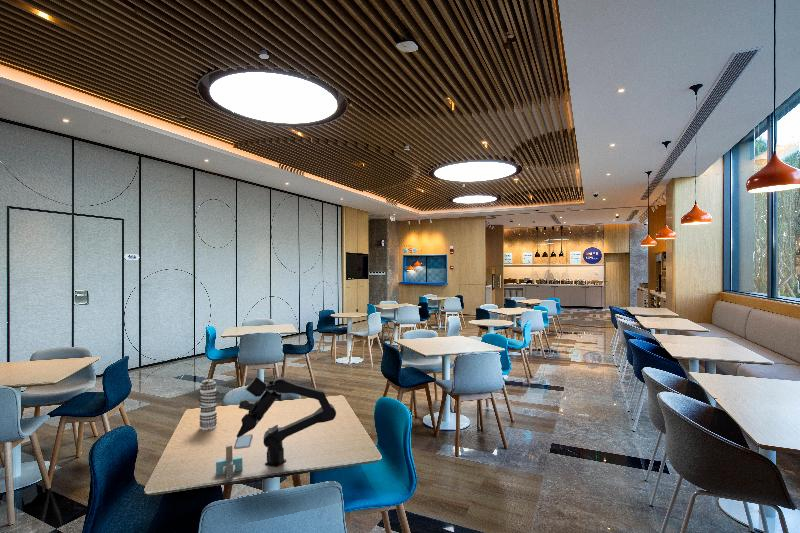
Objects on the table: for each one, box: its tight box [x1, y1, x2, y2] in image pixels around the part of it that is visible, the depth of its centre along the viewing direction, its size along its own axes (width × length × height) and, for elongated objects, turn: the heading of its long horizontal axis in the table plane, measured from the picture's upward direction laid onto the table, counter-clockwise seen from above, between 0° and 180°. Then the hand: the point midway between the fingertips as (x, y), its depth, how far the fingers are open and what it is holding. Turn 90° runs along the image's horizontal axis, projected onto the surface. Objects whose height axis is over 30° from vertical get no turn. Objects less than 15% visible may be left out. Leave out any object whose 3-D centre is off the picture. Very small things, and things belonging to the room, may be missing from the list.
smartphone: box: [233, 433, 254, 449], centre depth 206 cm, size 7×1×15 cm
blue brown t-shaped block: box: [215, 444, 243, 476], centre depth 174 cm, size 10×2×10 cm, turn 113°
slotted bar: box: [225, 461, 234, 478], centre depth 174 cm, size 12×2×5 cm, turn 23°
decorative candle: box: [198, 378, 218, 431], centre depth 227 cm, size 9×9×25 cm
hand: (239, 434), depth 178 cm, fingers open, 9 cm apart
